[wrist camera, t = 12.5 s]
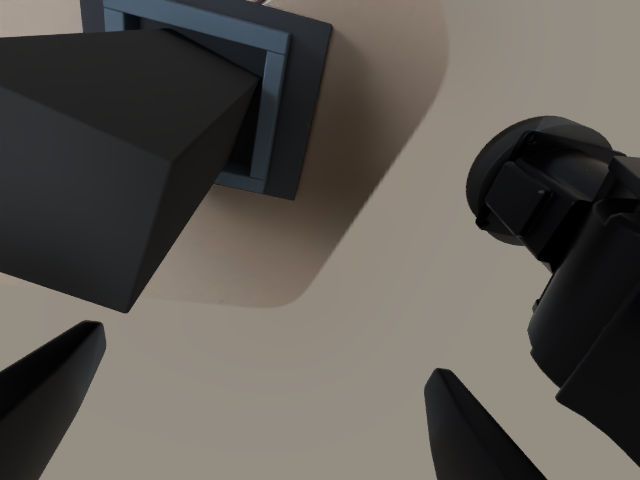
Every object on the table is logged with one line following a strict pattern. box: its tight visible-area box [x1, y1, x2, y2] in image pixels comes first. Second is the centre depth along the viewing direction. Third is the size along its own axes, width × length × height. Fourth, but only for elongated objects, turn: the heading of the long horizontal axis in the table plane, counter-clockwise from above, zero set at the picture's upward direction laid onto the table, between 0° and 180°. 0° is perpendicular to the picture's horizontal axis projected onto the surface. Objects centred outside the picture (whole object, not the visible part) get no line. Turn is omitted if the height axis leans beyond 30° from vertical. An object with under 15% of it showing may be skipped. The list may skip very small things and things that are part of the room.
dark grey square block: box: [0, 28, 261, 313], centre depth 12 cm, size 4×4×12 cm
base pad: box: [80, 0, 332, 201], centre depth 17 cm, size 11×9×2 cm
